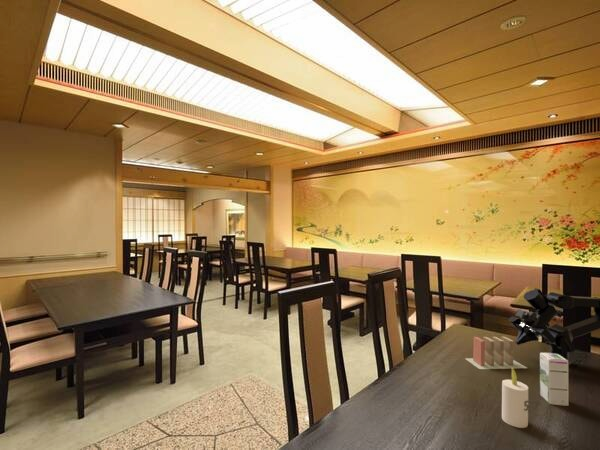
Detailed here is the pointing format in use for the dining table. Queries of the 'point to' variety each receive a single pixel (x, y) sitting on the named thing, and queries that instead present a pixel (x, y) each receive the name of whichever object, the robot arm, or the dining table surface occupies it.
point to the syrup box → (554, 378)
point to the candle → (515, 402)
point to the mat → (496, 365)
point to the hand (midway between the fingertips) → (516, 343)
